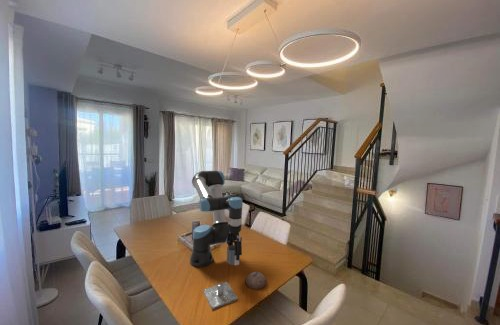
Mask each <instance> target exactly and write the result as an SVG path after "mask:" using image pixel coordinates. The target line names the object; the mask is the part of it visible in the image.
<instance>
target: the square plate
mask: <svg viewBox="0 0 500 325" xmlns="http://www.w3.org/2000/svg"><path fill="white" fill-rule="evenodd" d="M202 292H203V294H204V297H205V298H206V300H207V303H208V305H209V307H210V309H211V310H215V309H219V308H220V307H222V306H226V305H228V304H231V303H232V302H235V301H238V300H239V298H238V296H237V294H236V293H235V291H233V288H232V287H231V286H230V284H229V283H228V281H225V282H218V283H216V285H213V286H211V287H210V286H209V287H208V288H204V289H202Z"/></svg>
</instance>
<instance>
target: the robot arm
mask: <svg viewBox="0 0 500 325" xmlns="http://www.w3.org/2000/svg"><path fill="white" fill-rule="evenodd" d="M225 180H226V179H225V175H224V172H222V171H221V170H200V171H198V172H196V173H195V174H194V175H193V177H192V180H191V184H192V187H193V188H194V189H195V190H196V192H197V194H198V197H199V199H200V200H199V202H198V207H199V208H198V209H199V211H200V212H201V213H203V212H204V213H205V212H206V213H207V212H212V218H213V222H212V224H211V225H209V224H201V225H199V226H196V227H195V228H194V229H193V234H192V252H191V254H190V258H189V262H190V265H191V266H193V267H196V268H197V267H198V268H202V267H206V266H209V265H211V263H212V262H213V260H214V259H213V258H214V256H213V255H214V254H213V253H212V250H211V246H213V245H218V244H225V243H226V244H227V247H228V246H230V245H234V246H235V253H236V254H234V255H235V260H234V265H233V266H238V265H240V260H239V255H240V256H242V254H243V248H242V241H243V238H242V237H240V232H241V231H242V222H243V221H242V218H243V217H242V216H243V206H244V205H243V199H242V198H241V197H239V196H232V195H229V194H226V195H223V192H222V191H223V190H222V188H224V185H225V183H226V182H225ZM225 210H228V219H226V214H225V213H226V212H225Z"/></svg>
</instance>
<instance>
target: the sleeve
mask: <svg viewBox="0 0 500 325" xmlns="http://www.w3.org/2000/svg"><path fill="white" fill-rule="evenodd" d="M226 249H227V250H226V262H227V264H229V265H231V266H232V265H233V266H235V265H234V260H235V255H234V254H236V253H235V246H234V244H233V245H230V246H228V245H227V247H226ZM240 256H241V255H239V261H240V258H241V257H240Z"/></svg>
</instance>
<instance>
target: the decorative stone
mask: <svg viewBox="0 0 500 325" xmlns="http://www.w3.org/2000/svg"><path fill="white" fill-rule="evenodd" d="M245 285H247V287H249V288H250V289H252V290H261V289H263V288H264V287H266V285H267V278H266V277H265V275H264V274H263V273H262V272H259V271H252V272H251V273H249V274H248V275H247V276H246V278H245Z"/></svg>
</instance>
